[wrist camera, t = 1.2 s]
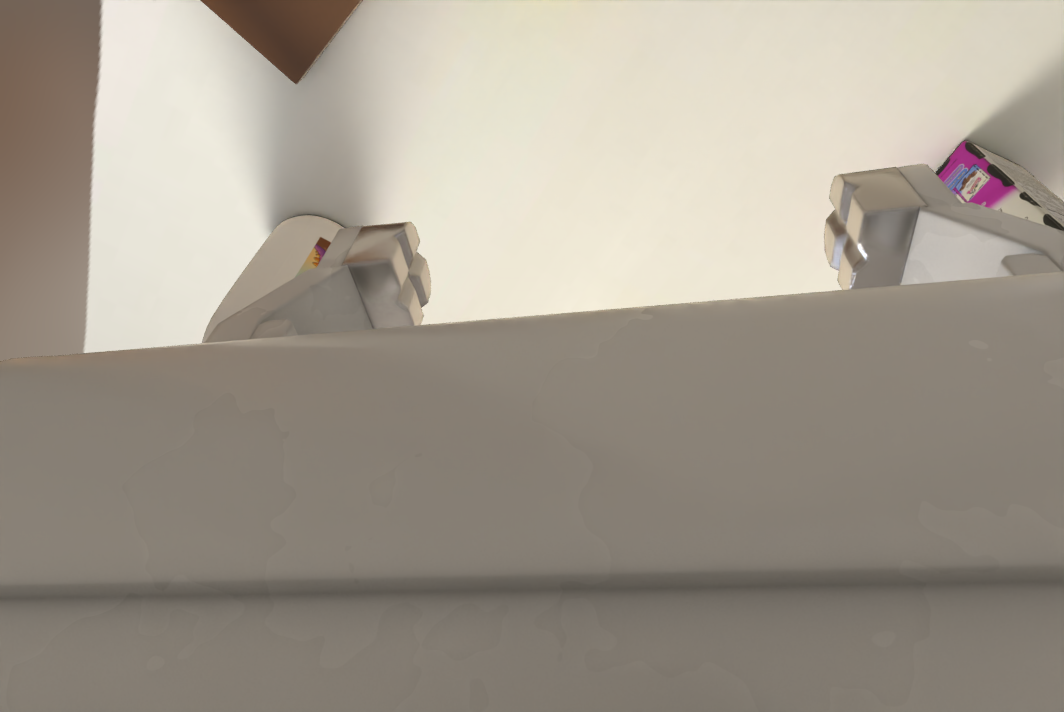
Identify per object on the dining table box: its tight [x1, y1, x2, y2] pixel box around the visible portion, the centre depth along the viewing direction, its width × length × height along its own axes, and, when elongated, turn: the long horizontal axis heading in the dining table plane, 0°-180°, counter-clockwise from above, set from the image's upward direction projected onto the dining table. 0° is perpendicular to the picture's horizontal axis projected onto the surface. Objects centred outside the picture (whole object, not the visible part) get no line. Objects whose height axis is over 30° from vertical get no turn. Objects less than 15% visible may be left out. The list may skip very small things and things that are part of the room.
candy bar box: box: [936, 141, 1064, 231], centre depth 40 cm, size 11×5×16 cm, turn 160°
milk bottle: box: [202, 215, 344, 343], centre depth 44 cm, size 8×8×20 cm
